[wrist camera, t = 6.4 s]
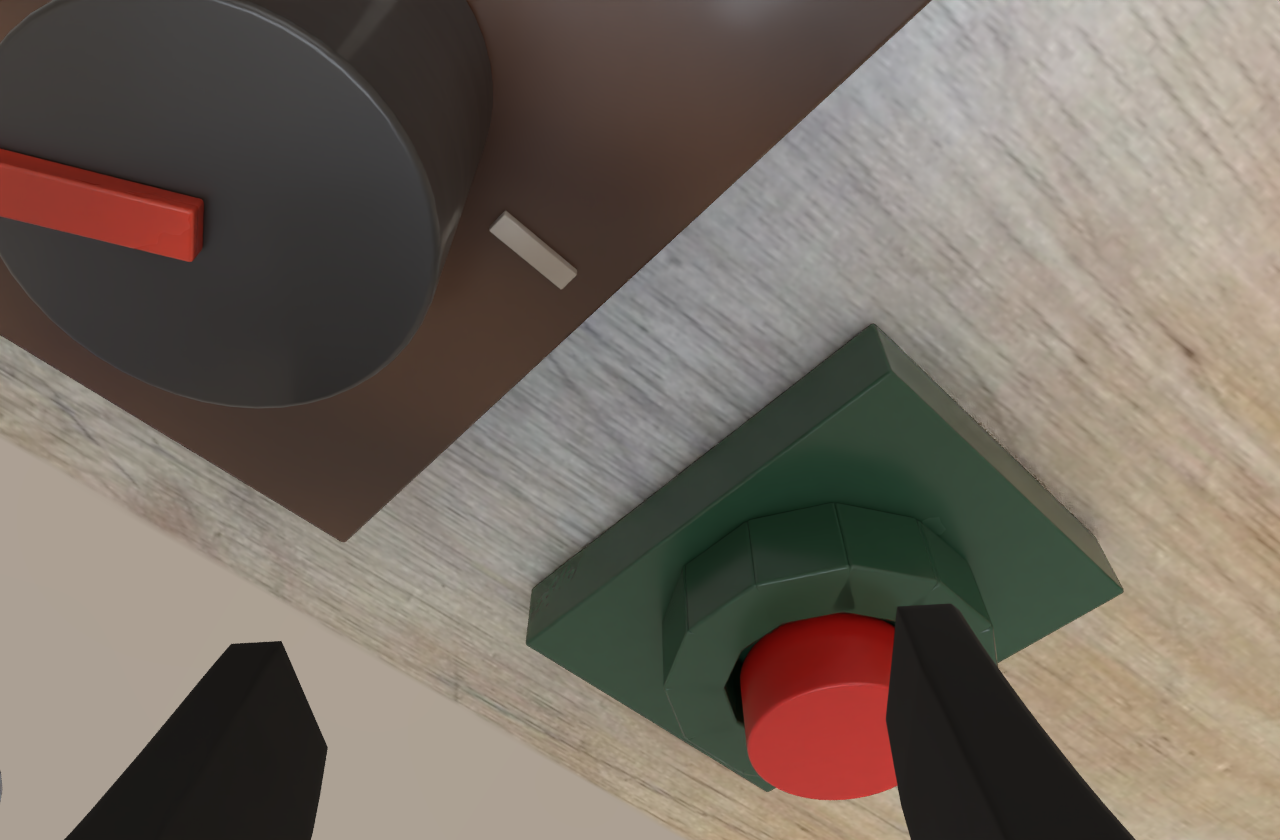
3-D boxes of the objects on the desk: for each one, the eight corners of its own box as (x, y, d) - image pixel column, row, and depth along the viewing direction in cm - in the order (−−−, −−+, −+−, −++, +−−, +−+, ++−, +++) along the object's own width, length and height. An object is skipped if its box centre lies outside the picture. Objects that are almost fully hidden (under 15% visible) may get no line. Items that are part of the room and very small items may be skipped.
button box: (760, 736, 26) (775, 861, 24) (531, 588, 23) (516, 713, 20) (1095, 537, 22) (1162, 660, 19) (873, 321, 19) (914, 431, 16)
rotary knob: (525, -45, 12) (473, 76, 8) (462, 263, 15) (400, 466, 11) (154, -158, 12) (-88, -82, 8) (153, 185, 14) (-30, 374, 10)
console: (378, 446, 21) (341, 551, 18) (-119, 114, 17) (-256, 191, 14) (931, -93, 15) (991, -47, 12) (372, -816, 11) (287, -975, 8)
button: (817, 749, 22) (830, 823, 20) (703, 674, 20) (707, 747, 19) (955, 671, 20) (978, 744, 19) (841, 583, 19) (858, 656, 17)
